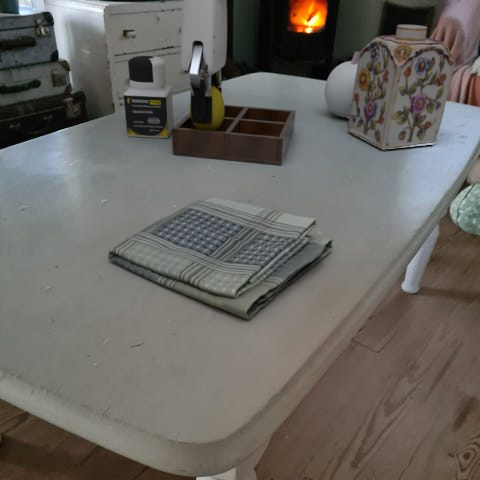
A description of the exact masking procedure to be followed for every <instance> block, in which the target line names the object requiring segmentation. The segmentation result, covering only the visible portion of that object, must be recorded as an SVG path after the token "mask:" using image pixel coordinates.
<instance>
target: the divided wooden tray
mask: <svg viewBox="0 0 480 480" xmlns="http://www.w3.org/2000/svg"><path fill="white" fill-rule="evenodd" d="M224 108H225V112H224V119H223V122H222V124H221V125H220V126H219V128H218V129H216V130H215V131H210V130H199V129H197V128H196V127H195V126H194V124H193V123H192V121H191V117H190V112H188V113H187V114H186V115H185V116H184V117H182V119H180V120H179V121H178V122H177V123H176V124H175V125H174V126H173V128H172V131H171V140H172V155H173V156H183V157H191V158H192V157H193V158H201V159H202V158H203V159H213V160H223V161H233V162H242V163H253V164H262V165H273V166H282V165H283V162H284V159H285V157H284V156H286V154H287V152H288V149H289V147H288V145H289V146H290V144H291V141H292V139H291V137H292V138H293V136H292V134H293V135H294V133H293V131H295V122H296V110H291V109H282V108H281V109H280V108H269V107H258V106H257V107H256V106H246V105H245V106H244V105H234V104H233V105H232V104H224ZM290 140H291V141H290ZM289 143H290V144H289ZM287 148H288V149H287ZM286 151H287V152H286ZM285 153H286V154H285Z"/></svg>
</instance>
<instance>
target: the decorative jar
mask: <svg viewBox="0 0 480 480" xmlns="http://www.w3.org/2000/svg"><path fill="white" fill-rule="evenodd" d="M427 31H428V27H427V26H426V25H425V26H424V25H417V24H397V26H396V31H395V34H389V35H380V36H377V37H374V39H372V40H371V41H369V43H368V44H366V45H365V46H364V47H363V48H362V50H361V51H359V52H360V54H359V61H358V66H357V71H356V77H355V84H354V89H353V95H352V102H351V109H350V116H349V118H348V125H347V132H348V131H350V132H351V133H353V134H355V135H357V136H359V137H361V138H363V139H365V140H366V141H368V142H370V143H372V144H374V145H376V146H377V147H379V148H381V149H387V148H398V147H403V146H410V145H417V144H426V143H434V142H435V143H436V142H437V139H438V136H439V132H440V128H441V124H442V120H443V117H444V112H445V109H446V108H445V107H446V104H447V100H448V96H449V93H450V88H451V84H452V79H453V75H454V71H455V66H456V61H455V59H454V56H453V55H452V52H451V51H450V48H449V47H448V45H447V43H446V42H444V41H442V40H438V39H435V38H432V37H431V38H430V37H427Z"/></svg>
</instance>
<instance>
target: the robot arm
mask: <svg viewBox="0 0 480 480" xmlns="http://www.w3.org/2000/svg"><path fill="white" fill-rule="evenodd" d="M227 3H228V1H227V0H182V8H181V28H180V29H181V31H180V33H181V34H180V70H181V71H182V73H183V74H184V75H187V74H189V80H190V82H189V83H190V100H191V121H192V122H193V123H200V124H211V123H212V96H210V89H211V85H212V86H214V87H216V88H217V89H218V90H219V91H220V93H221V94H222V92H223V89H222V83H223V82H222V81H223V79H222V68H223V67H224V66H225V65H226V61H227V52H228V51H227V50H228V49H227V48H228V4H227ZM205 82H206V86H205ZM222 95H223V94H222Z"/></svg>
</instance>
